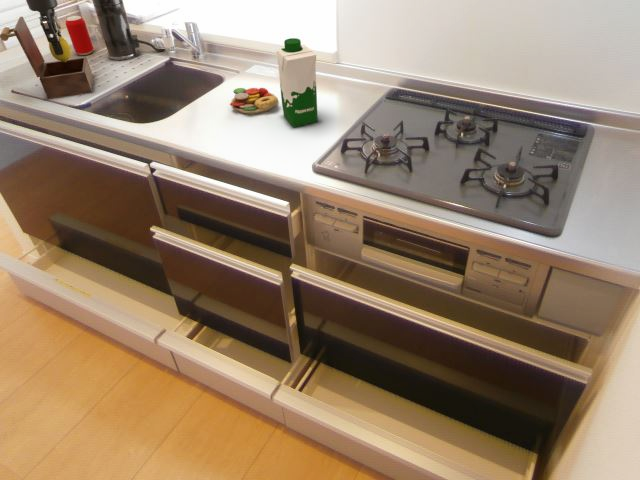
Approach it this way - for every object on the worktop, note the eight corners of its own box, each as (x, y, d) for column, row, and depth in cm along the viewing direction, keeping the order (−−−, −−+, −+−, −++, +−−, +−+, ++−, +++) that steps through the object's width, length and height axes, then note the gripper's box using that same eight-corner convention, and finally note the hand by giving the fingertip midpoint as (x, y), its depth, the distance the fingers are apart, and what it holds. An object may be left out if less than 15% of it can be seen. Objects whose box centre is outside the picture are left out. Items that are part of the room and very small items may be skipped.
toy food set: (280, 112, 138) (279, 101, 136) (232, 119, 137) (230, 107, 135) (274, 92, 148) (273, 82, 146) (229, 98, 147) (227, 87, 145)
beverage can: (78, 50, 182) (66, 15, 174) (96, 49, 182) (85, 14, 174) (74, 56, 177) (61, 21, 169) (92, 55, 177) (80, 19, 170)
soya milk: (309, 109, 139) (305, 35, 127) (322, 122, 133) (319, 46, 120) (279, 115, 137) (272, 41, 124) (291, 130, 131) (285, 52, 118)
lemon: (70, 65, 150) (60, 38, 145) (52, 66, 150) (41, 39, 145) (77, 58, 154) (68, 31, 149) (60, 59, 155) (49, 32, 149)
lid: (22, 16, 147) (1, 20, 146) (16, 30, 138) (-6, 34, 137) (44, 61, 156) (25, 65, 155) (40, 76, 147) (19, 81, 146)
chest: (93, 76, 163) (86, 56, 159) (91, 92, 154) (84, 72, 149) (51, 82, 161) (43, 62, 156) (47, 99, 151) (39, 78, 147)
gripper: (49, -6, 134) (72, 57, 146) (53, -19, 145) (75, 40, 156) (19, -2, 133) (45, 61, 144) (25, -16, 143) (49, 44, 154)
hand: (60, 50), depth 150 cm, fingers closed on lemon, 5 cm apart
